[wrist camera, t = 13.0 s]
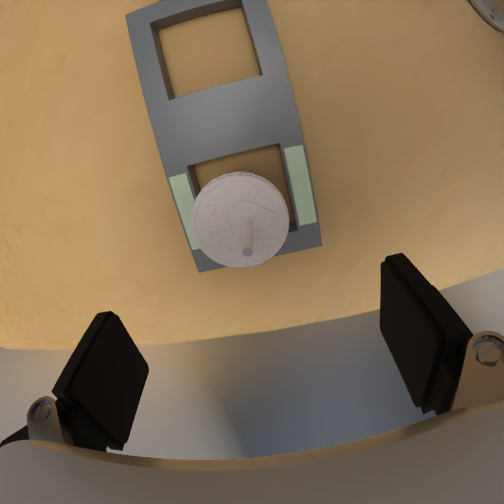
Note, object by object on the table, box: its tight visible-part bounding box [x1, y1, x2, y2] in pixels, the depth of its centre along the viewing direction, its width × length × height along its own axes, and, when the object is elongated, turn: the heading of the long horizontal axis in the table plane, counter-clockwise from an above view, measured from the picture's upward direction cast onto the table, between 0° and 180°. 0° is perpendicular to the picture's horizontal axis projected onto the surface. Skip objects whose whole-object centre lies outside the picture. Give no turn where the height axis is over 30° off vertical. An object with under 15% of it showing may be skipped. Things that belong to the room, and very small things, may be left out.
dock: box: [125, 0, 322, 272], centre depth 23 cm, size 12×26×3 cm, turn 13°
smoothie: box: [190, 170, 289, 268], centre depth 21 cm, size 6×6×14 cm
